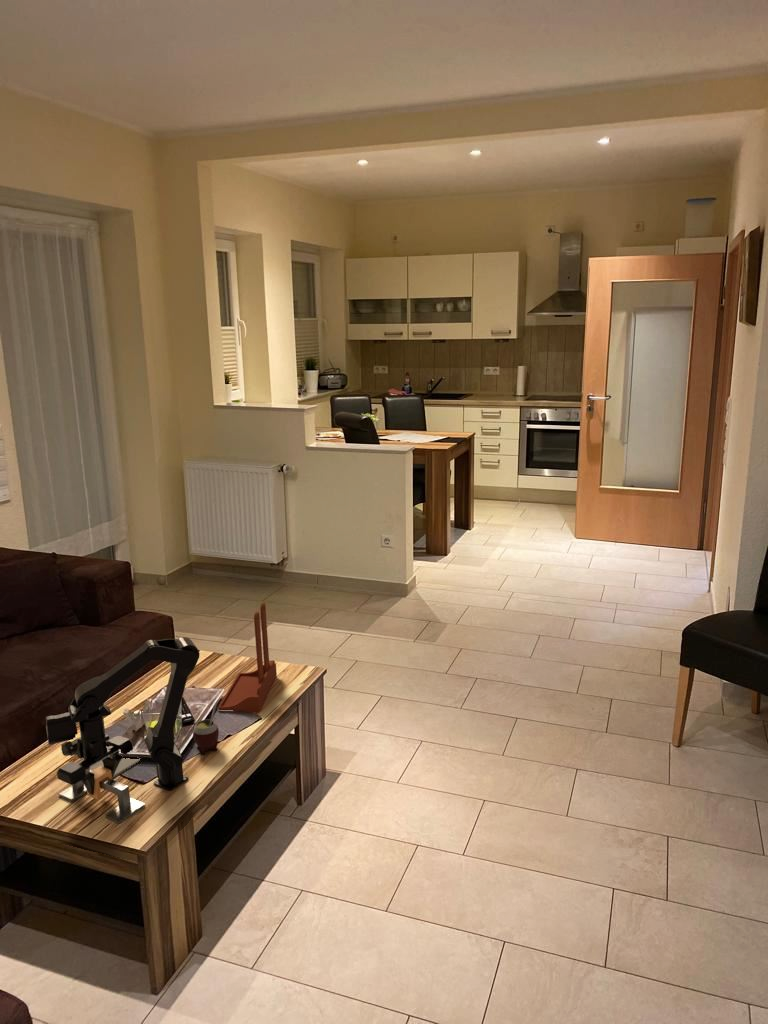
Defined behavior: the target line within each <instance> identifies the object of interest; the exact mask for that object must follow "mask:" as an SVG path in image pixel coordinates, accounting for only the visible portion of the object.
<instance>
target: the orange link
mask: <svg viewBox="0 0 768 1024" xmlns="http://www.w3.org/2000/svg"><path fill="white" fill-rule="evenodd" d="M91 773H93V774H94V794H93V795H91V794H89V792H88V791H87V793H86V794H87V796H88V797H90V798H92V799H95V800H97V801H99V800H100V799H101V798H102V794H101V788H100V785H99V782H100V781H101V780H103V779H105V778H106V777H108V778H110V779H112V774H111V770H110V769H107V768H105V767H102V766H99V767H98V768H96V769H94V770H92V771H91Z"/></svg>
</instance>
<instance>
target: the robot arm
mask: <svg viewBox="0 0 768 1024" xmlns="http://www.w3.org/2000/svg"><path fill="white" fill-rule="evenodd" d="M200 656H201V655H200V650H199V649H198V647H197V646H196V644H195V643H194V642H193V640H192V639H191V638H190V637H187V636H185V637H184V636H183V637H179V638H177V639H176V638H164V639H148V640H147V641H145V642H144V643H143V645H141V646H140V647H138V648H137V649H136V650H134V651H133V652H132V653H131V654H129V655H128V656H126V657H125V658H124V659H123V660H121V661H120V662H118V663H117V664H116V665H115V666H113V667H112V668H110V669H109V670H108V671H106V672H105V673H103V674H101V675H98V676H94V677H92V678H90V679H88V680H86V681H84V682H83V683H80V684H79V685H78V686H77V687H76V688H75V691H74V698H73V699H72V701H71V702H70V704H69V705H68V709H67V710H68V712H64V713H61V714H56V715H54V714H53V715H48V716H45V721H46V725H45V728H46V736H47V743H48V746H52V745H56V744H59V743H61V744H60V745H61V748H60V749H61V753H62V755H63V756H64V757H69V756H70V757H73V756H77V758H79V759H84V761H82V762H81V763H79V764H76V763H77V762H76V763H75V762H73V761H69V762H68V763H66V764H64V765H62V766H61V767H59V768H58V769H57V770H56V776H57V780H60V781H62V782H64V783H65V784H69V785H70V786H72V785H73V784H76V783H78V782H79V781H82V783H83V784H84V786H85V787H86V789H87V791H88V792H89V794H91V795H93V794H94V774H93V773H91V772H90V767H91V766H93V765H95V764H96V763H98V762H100V761H101V760H102V762H103V765H104V767H105V768H107V769H110V770H111V774H112V779H113V780H114V778H113V776H114V773H115V771H116V769H117V767H118V765H119V763H120V761H121V759H123V756H122V755H120V754H119V751H121V753H122V754H129V753H130V752H132V751H134V746H133V745H134V744H133V741H132V740H131V739H129V738H126V737H124V736H122V735H116V736H114V737H112V738H110V735H108V734H106V728H105V727H106V726H105V721H104V717H107V716H110V715H112V711H111V708H110V706H107V705H105V703H106V702H107V701H108V700H109V698H110V697H111V695H112V694H113V692H114V691H115V690H116V689H118V688H119V687H120V686H122V685H123V684H124V683H125V682H127V681H128V680H129V679H131V678H133V676H134V675H136V674H137V673H139V672H140V671H141V670H143V669H144V668H146V666H148V665H149V664H150V663H152V662H153V661H161V662H166V663H170V674H169V677H168V682H167V685H166V690H165V692H164V697H163V700H162V703H161V708H160V712H159V716H158V719H157V722H156V723H155V725H154V726H153V727H151V726H148V727H147V733H146V737H145V738H144V739H143V740H144V744H145V747H146V749H147V752H148V754H149V756H150V759H151V760H152V761H153V763H156V764H155V767H156V775H157V779H156V780H153V785H156V786H158V787H160V788H163V789H165V790H167V791H173V790H174V789H175V788H178V787H179V786H180V785H181V784H184V783H185V782H186V781H187V780H188V779H189V776H187V775H185V774H184V771H183V769H184V768H183V761H184V757H183V756H182V754H181V752H180V750H179V747H178V745H177V743H176V742H175V726H176V722H177V719H178V714H179V711H180V707H181V703H182V699H183V696H184V692H185V687H186V683H187V682H188V681H187V680H188V678H189V676H190V675H191V673H192V672H193V671H194V670H195V668H196V666H197V663H198V661H199V659H200ZM77 723H78V727H79V734H80V737H77V738H76V735H78V727H77ZM71 740H72V741H71Z"/></svg>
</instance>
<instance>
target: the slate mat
mask: <svg viewBox="0 0 768 1024" xmlns="http://www.w3.org/2000/svg"><path fill="white" fill-rule="evenodd" d="M140 759H141V758H139V759H130V758H126V759H125V758H123V759H121V761H120V763H119V765H118V767H117V769H116V771H115V773H114V776H113V779H114V778H116V777H117V776H120V774H122V773H123V771H124V772H125V771H127V770H128V768H129V769H130V768H132V767H134V766H135V765H137V764H139V763H140V762H141V761H140ZM82 761H84V758H82V760H80V761H77V762H76V764H79V763H81V762H82ZM139 761H140V762H139ZM138 762H139V763H138ZM136 763H137V764H136ZM133 765H134V766H133ZM99 766H102V767H104V765H103V762H102V760H101V761H100V762H98V763H96V764H95V765H93V766H91V767H90V770H91V771H92V770H94V769H96V768H98V767H99ZM131 766H132V767H131ZM126 769H127V770H126Z"/></svg>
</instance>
